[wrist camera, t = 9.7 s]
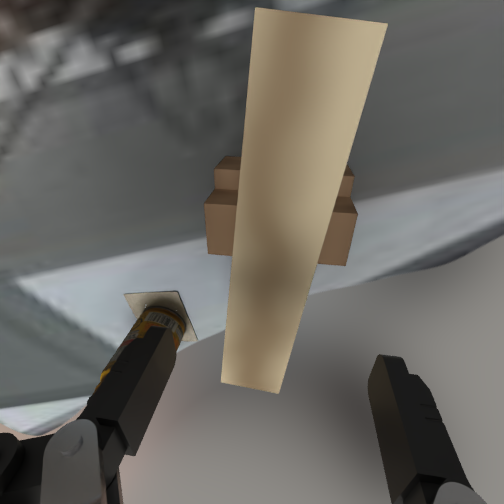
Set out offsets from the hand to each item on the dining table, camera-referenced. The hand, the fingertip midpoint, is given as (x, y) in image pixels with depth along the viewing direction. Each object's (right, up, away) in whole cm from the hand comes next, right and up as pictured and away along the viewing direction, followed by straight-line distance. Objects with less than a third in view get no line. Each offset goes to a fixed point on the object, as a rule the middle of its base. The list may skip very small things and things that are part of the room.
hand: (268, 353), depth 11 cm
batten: (+1, +5, +8) cm, 10 cm away
